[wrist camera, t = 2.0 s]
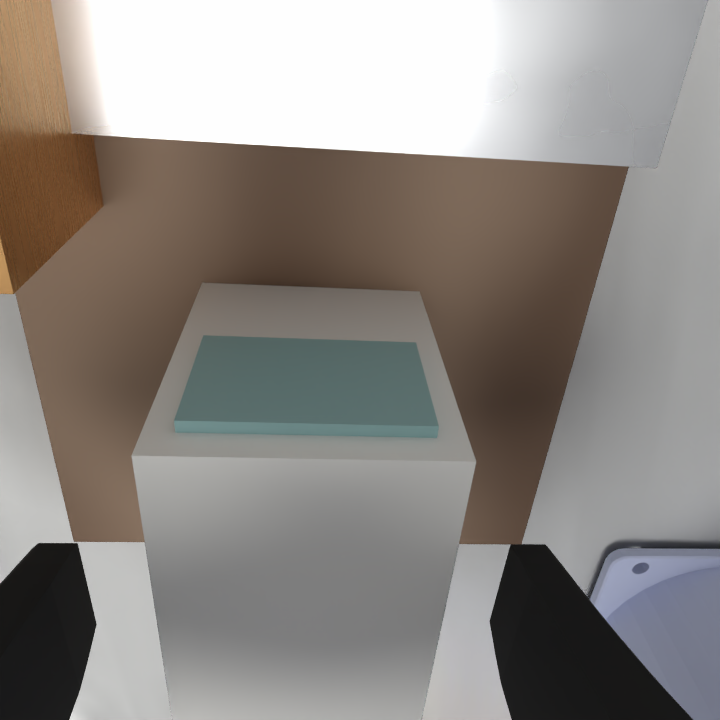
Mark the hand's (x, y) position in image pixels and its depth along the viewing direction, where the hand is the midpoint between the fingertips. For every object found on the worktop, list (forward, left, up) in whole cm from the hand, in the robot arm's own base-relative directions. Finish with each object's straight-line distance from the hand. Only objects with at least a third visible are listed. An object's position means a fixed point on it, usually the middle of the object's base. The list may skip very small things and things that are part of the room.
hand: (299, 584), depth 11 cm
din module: (0, 0, -5) cm, 5 cm away
